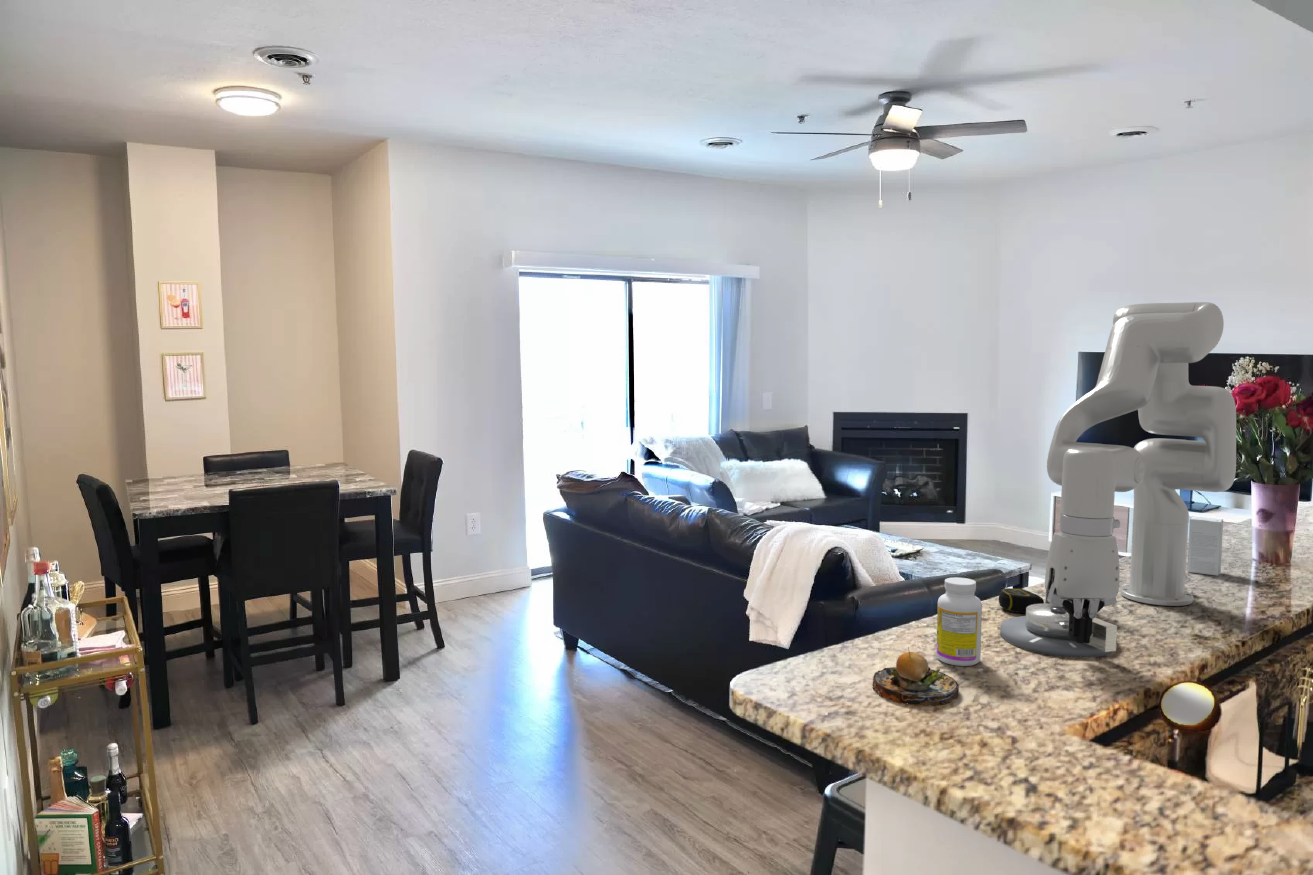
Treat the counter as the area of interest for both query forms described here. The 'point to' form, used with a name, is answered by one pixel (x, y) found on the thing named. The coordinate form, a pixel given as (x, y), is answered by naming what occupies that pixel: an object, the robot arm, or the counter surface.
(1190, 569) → the skincare box
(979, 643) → the supplement bottle
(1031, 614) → the dial
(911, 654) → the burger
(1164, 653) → the counter surface
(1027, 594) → the tape measure
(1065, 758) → the counter surface
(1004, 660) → the counter surface
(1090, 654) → the base plate
